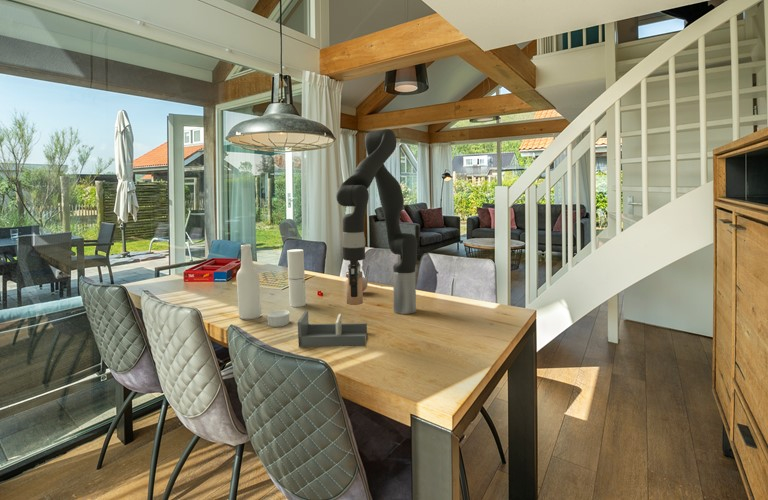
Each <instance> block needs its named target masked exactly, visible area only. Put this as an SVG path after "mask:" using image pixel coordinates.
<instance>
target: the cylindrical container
mask: <svg viewBox="0 0 768 500" xmlns="http://www.w3.org/2000/svg"><path fill="white" fill-rule="evenodd" d="M286 254H287V255H286V256H287V257H286V258H287V277H288V293H289V294H288V297H289V298H288V299H289V306H290V307H293V308H299V307H304V306H306V303H307V302H306V298H307V297H306V280H305V277H306V276H305V255H304V254H305V253H304V249H299V248H295V249H289V250H288V249H287V251H286Z"/></svg>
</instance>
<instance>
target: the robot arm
mask: <svg viewBox="0 0 768 500" xmlns="http://www.w3.org/2000/svg"><path fill="white" fill-rule="evenodd" d="M397 144H398V143H397V136H396V134H395V132H394V131H393V130H392V129H390V128H384V129H379V130H373V131H369V132H367V133H366V134H365V136H364V146H365V150H366V154H367V156H366V157H365V158H364V159H362V160H361V161H360V162H359V163H358V165H357V166H356V167H355V169H354V172H353V173H352V175H350V176H349V177H348V178H346V179H345V181H343V182H342V183H341V184H340V185H339V187H338V189H337V191H336V197H335V198H336V201H337V203H338V204H339V205H340V206H342V207H354V210H353V211H352V212H351V213H346V214H344V215H343V216H342V244H341V245H342V260H344V261H349V264H348V265H347V272H348V271H349V282H350V283H349V284H350V286H351V297H357V296H358V291H357V286H358V279H359V272H360V271H361V264H360V261H363V260H365V259H366V240H365V239H366V236H365V217H366V216H365V215H366V211H367V207H368V203H369V198H370V197H369V196H370V195H369V191H368V189H369V187H370V186H371V185H372V183H373V180H374V179H375V184H376V188H377V192H378V196H379V201H380V205H381V208H382V213H383V217H384V222H385V229H386V234H387V236H386V237H387V242H388V247H389V250H390V252H391V253H392V254H395V255H398V256H401V261H400V262H397V263H394V264H393V268H392V269H393V270H392V271H393V273H392V275H393V276H392V278H393V280H392V281H393V282H392V283H393V312H394V313H396V314H400V315H409V314H414V313H416V312H417V304H416V303H417V291H416V268H417V267H416V266H417V263H418V246H419V245H418V243H419V242H418V239H417V236H416V235H414V234H413V233H405V232H402V230H401V225H400V218H401V215H402V214H401V213H402V211H403V209H404V208H403V207H404V205H405V204H404V203H405V201H404V195H403V191H402V187H401V185H400V184H401V183H399V181H398V180H397V179H396V178H395V176H394V175H393V174H392V173H391V172H390V171H389V170H388V169H387V167H386V166H385V164H386V161H387V160H388V159H389V158H390V157H391V156H392V154H393V153H394V152H395V150H396V147H397ZM352 279H355V282H352Z"/></svg>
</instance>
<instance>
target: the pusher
mask: <svg viewBox="0 0 768 500" xmlns="http://www.w3.org/2000/svg"><path fill="white" fill-rule="evenodd" d="M341 323H342V313H338V314H337V318H336V321H335V323H334V324H336V335H341V333H342V328H341Z"/></svg>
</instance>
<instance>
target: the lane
mask: <svg viewBox="0 0 768 500" xmlns="http://www.w3.org/2000/svg"><path fill="white" fill-rule="evenodd" d="M309 321H310V320H309V310H304V311H303V313H302V315H301V317H300V318H299V320H298V321H297V337H298V338H297V339H298V340H297V341H298V348H317V347H318V348H322V347H323V348H326V347H327V348H328V347H329V348H330V347H333V348H335V347H339V346H340V347H366V345H365V344H366V343H367V335H368V334H367V333H368V325H367V324H368V323H367V322H360V323H359V322H358V323H357V322H356V323H355V322H353V323H352V322H349V323H348V322H345V323H342V322H341V328H342V333H341V335H336V324H335V323H309ZM340 347H339V348H340Z"/></svg>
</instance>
